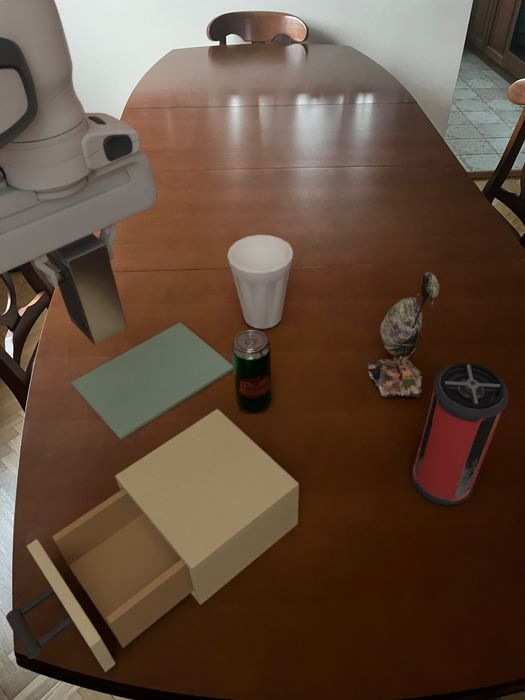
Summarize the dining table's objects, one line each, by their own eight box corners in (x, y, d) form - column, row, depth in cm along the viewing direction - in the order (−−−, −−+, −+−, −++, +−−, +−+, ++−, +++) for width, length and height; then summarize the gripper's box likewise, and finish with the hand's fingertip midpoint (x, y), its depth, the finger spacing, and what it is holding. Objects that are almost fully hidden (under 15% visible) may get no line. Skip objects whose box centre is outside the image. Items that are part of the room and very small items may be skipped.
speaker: (408, 453, 78) (431, 355, 65) (468, 457, 77) (503, 359, 64) (413, 504, 72) (439, 408, 60) (477, 509, 71) (518, 413, 59)
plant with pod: (421, 350, 91) (445, 241, 78) (423, 405, 83) (450, 294, 70) (368, 345, 93) (382, 236, 79) (365, 399, 85) (380, 288, 71)
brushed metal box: (94, 346, 68) (66, 261, 60) (69, 321, 71) (40, 237, 63) (128, 328, 70) (105, 243, 62) (102, 304, 73) (78, 221, 65)
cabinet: (200, 605, 64) (191, 568, 58) (129, 515, 72) (114, 475, 66) (298, 523, 71) (299, 483, 65) (222, 450, 79) (217, 408, 73)
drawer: (60, 709, 56) (40, 686, 52) (2, 604, 64) (-20, 576, 59) (213, 583, 65) (207, 554, 60) (146, 504, 72) (136, 472, 67)
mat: (120, 440, 80) (119, 437, 80) (71, 384, 88) (70, 382, 88) (234, 369, 90) (234, 366, 89) (180, 324, 97) (180, 321, 97)
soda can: (240, 418, 83) (234, 357, 74) (233, 391, 86) (228, 331, 78) (275, 411, 83) (274, 350, 75) (267, 385, 87) (265, 325, 79)
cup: (296, 336, 95) (297, 269, 86) (233, 340, 94) (228, 274, 85) (289, 297, 102) (289, 232, 93) (231, 300, 101) (226, 236, 92)
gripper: (-54, 204, 49) (4, 327, 59) (153, 128, 58) (173, 245, 68) (-79, 177, 52) (-21, 298, 62) (120, 109, 62) (143, 223, 71)
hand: (82, 270), depth 65 cm, fingers closed on brushed metal box, 4 cm apart
